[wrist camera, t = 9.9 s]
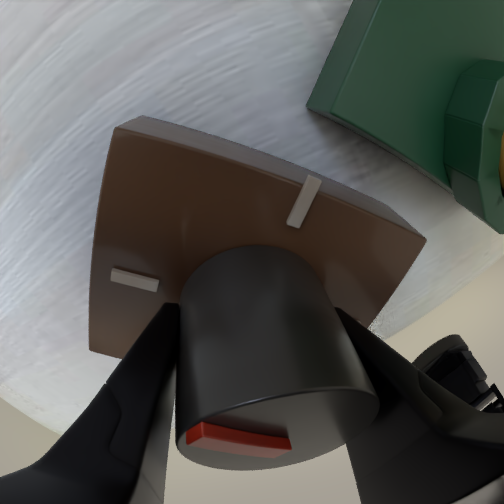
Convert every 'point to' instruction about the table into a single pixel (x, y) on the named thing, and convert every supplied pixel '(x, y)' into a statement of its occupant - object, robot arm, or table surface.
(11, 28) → the table surface
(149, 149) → the dimmer panel
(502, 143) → the lamp switch
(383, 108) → the lamp base
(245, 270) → the dimmer knob
